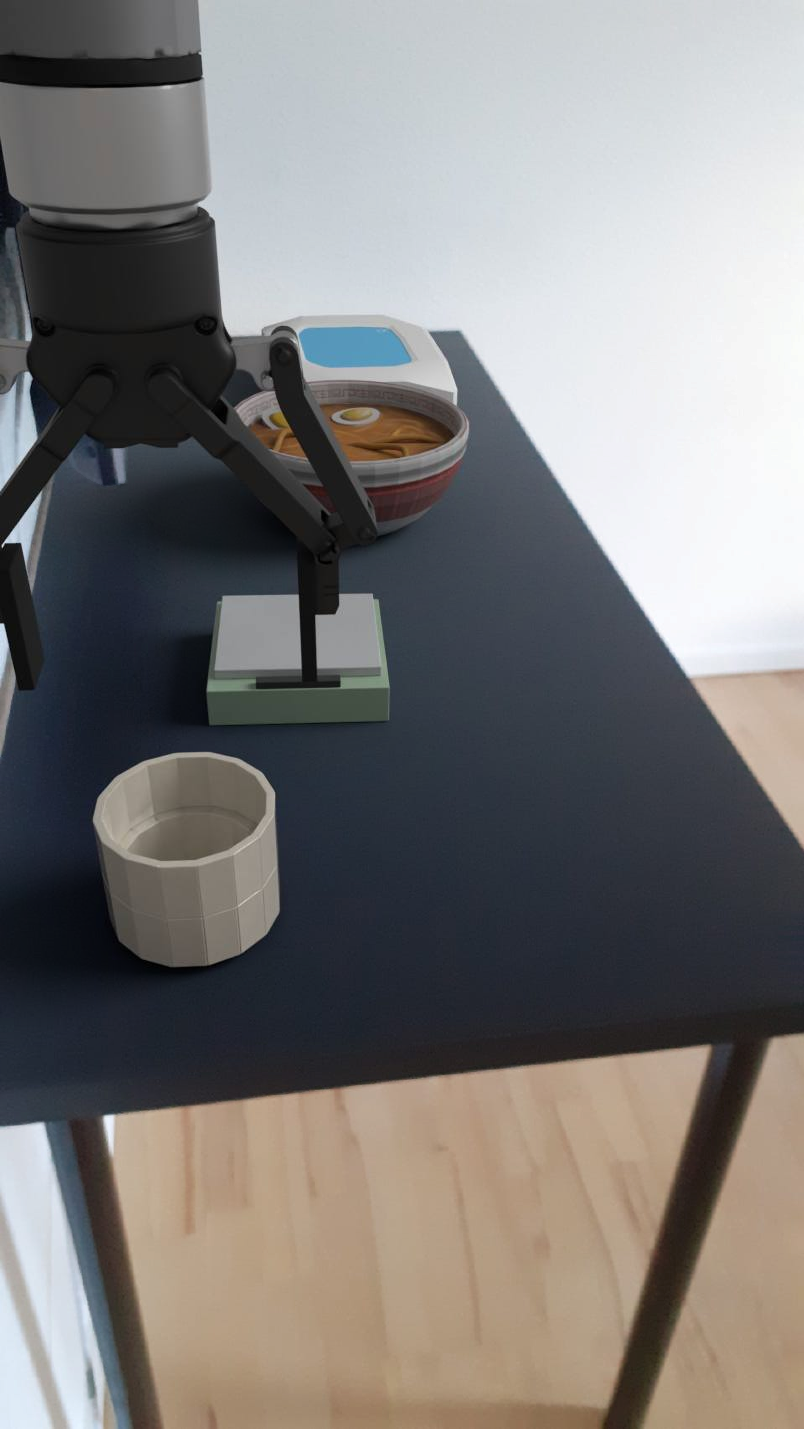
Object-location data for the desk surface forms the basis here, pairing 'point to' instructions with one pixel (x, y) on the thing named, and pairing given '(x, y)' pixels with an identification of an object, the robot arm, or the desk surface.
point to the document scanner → (371, 352)
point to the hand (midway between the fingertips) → (172, 671)
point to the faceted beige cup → (189, 857)
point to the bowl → (374, 443)
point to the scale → (296, 663)
